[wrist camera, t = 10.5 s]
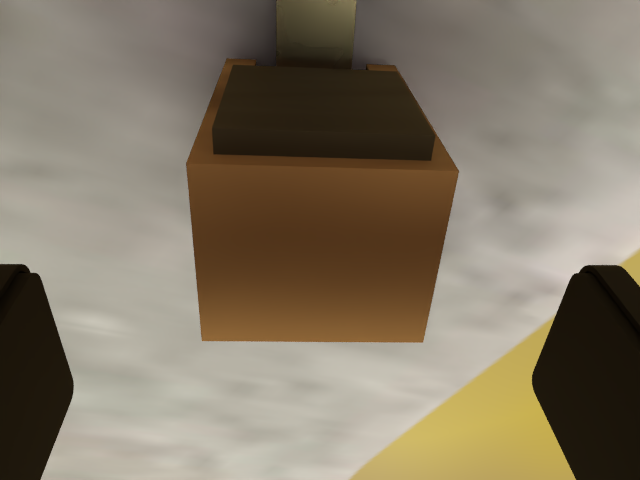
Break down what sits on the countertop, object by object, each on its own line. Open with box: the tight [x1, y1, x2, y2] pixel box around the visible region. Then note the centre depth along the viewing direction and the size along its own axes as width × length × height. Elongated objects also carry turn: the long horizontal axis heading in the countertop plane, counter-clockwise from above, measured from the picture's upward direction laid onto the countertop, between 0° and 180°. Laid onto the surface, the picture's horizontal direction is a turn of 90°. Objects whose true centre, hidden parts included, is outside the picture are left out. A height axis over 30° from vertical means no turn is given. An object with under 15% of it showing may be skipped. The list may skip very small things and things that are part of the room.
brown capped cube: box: [186, 58, 459, 342], centre depth 16 cm, size 6×6×8 cm
